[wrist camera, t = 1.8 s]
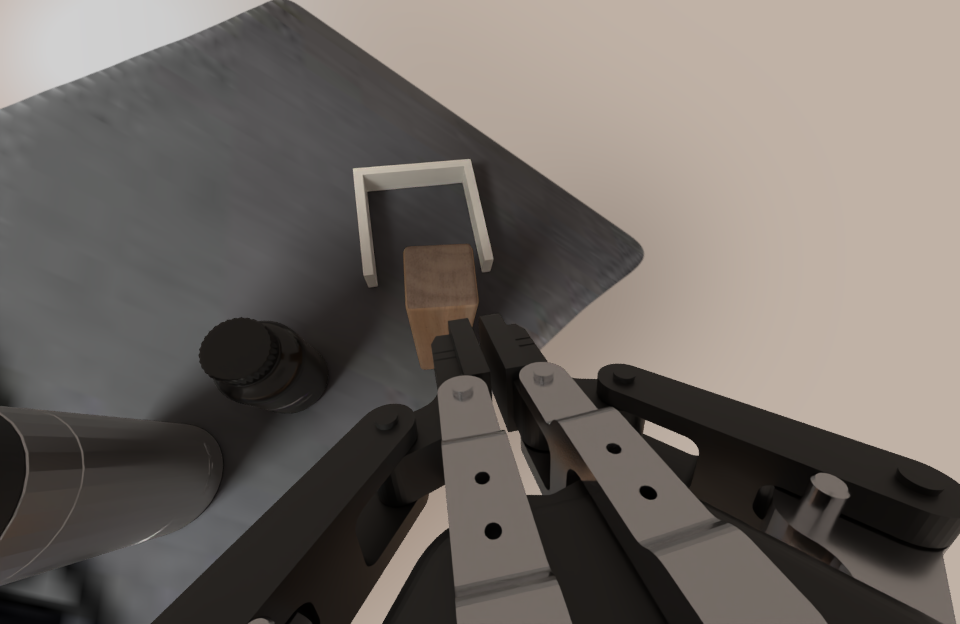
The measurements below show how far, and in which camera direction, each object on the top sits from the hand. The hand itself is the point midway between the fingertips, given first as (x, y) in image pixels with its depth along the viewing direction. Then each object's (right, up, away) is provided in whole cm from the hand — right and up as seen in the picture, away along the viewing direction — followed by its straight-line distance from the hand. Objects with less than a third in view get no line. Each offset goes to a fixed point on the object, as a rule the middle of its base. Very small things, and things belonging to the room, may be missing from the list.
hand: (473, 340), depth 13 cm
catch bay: (-7, +11, +31) cm, 34 cm away
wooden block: (-4, -1, +27) cm, 28 cm away
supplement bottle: (-18, -6, +24) cm, 31 cm away
